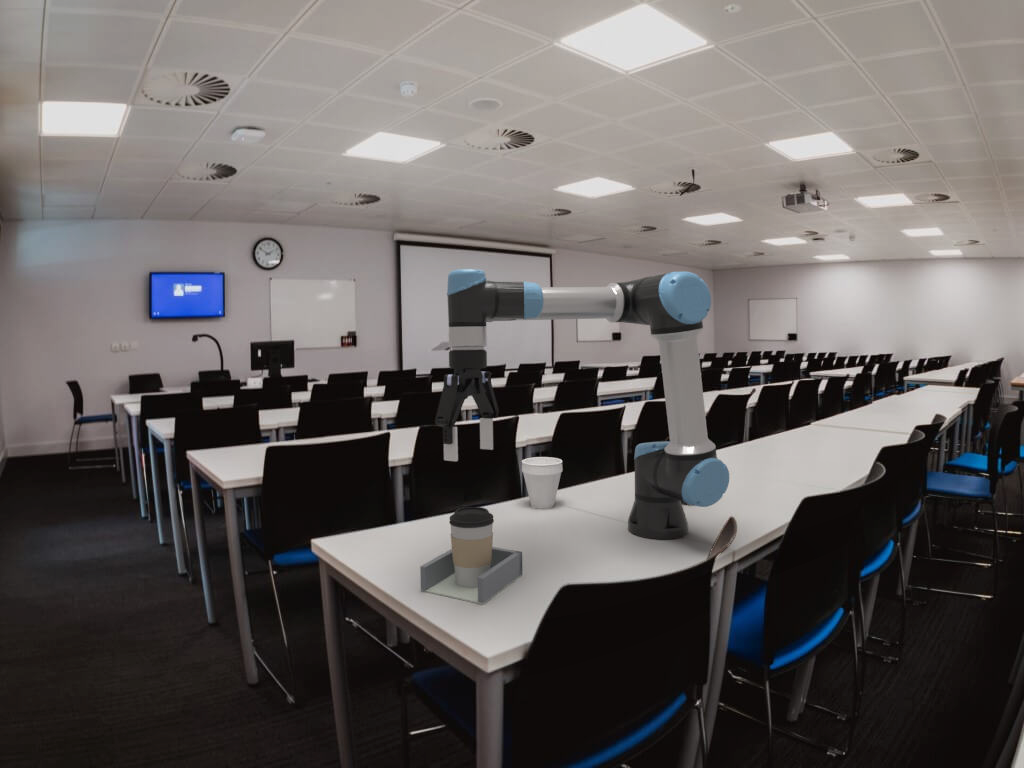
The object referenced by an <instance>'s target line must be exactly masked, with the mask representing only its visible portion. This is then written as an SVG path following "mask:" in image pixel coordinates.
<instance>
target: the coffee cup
mask: <svg viewBox="0 0 1024 768" xmlns="http://www.w3.org/2000/svg"><path fill="white" fill-rule="evenodd" d="M494 522H495V520H494V515H493V514H492V513H491V512H490V511H489V509H488V508H485V507H481V506H468V507H467V506H466V507H462V508H461V507H460V508H457V509H456V510H455V511H454V513H453V514H451V515H450V516H449V525H450V544H451V549H452V555H453V563H454V568H455V579H456V584H457V585H459V586H461V587H466V588H477V587H478V577H479V576H481V575H482V574H484V573H485V572H487V571H488V570H490V563H491V558H492V547H493V540H494V539H493V535H494V533H493V526H494V525H493V524H494Z"/></svg>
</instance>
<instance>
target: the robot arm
mask: <svg viewBox="0 0 1024 768" xmlns="http://www.w3.org/2000/svg"><path fill="white" fill-rule="evenodd" d="M446 296H447V313H448V314H447V316H448V318H447V319H448V347H449V348H451V350H449V351H448V367H449V368H450V369H453V374H444V376H443V387H442V391H441V395H440V399H439V403H438V407H437V411H436V416H435V419H434V424H435V425H437V427H440V428H442V442H443V460H444V461H448V462H458V461H459V453H458V452H459V445H458V442H459V441H458V426H455V424H456V422H457V420H458V417H459V414H460V413H461V410H462V409H463V408H462V407H463V405H464V403H465V400H467V399H468V398H469V397H472V399H473V400H474V402H475V403H474V404H475V405H476V407H477V408H478V411H479V413H480V414H481V415H480V416H482V417H481V418H479V440H480V441H479V449H480V450H491V451H493V450H494V421H493V419H497V418H498V415H499V412H500V411H499V406H498V402H497V399H496V395H495V391H494V388H493V384H492V378H491V377H492V376H491V371H482V370H483V369H486V368H487V366H488V362H487V361H488V356H487V354H488V352H487V351H488V350H487V351H486V349H485V347H487V346H488V343H487V342H488V341H487V338H488V337H487V323H491V322H506V321H507V322H508V321H545V320H546V321H547V320H589V319H590V320H593V319H597V320H598V319H599V320H600V319H602V320H603V319H606V320H607V321H608V322H610V323H625V324H627V323H628V324H635V325H642V326H649V328H650V336H651V337H652V338H653V339H654V340H656V341H657V343H658V347H659V356H660V365H661V373H662V375H661V376H662V381H663V391H664V400H665V401H664V402H665V409H666V417H667V426H668V427H667V428H668V435H669V436H668V437H670V439H669V440H668V441H665V440H664V442H661V441H651V442H650V441H649V442H642V443H639V444H637V445H636V446H635V449H634V458H633V460H634V501H633V504H632V507H631V510H630V513H629V515H628V519H627V531H628V532H629V533H631V534H633V535H635V536H638V537H642V538H646V539H647V538H648V539H655V540H671V539H680V538H683V537H685V536H687V535H688V533H689V524H688V519H687V516H686V513H685V511H684V507H683V505H682V502H684V503H685V502H686V503H687V505H690V506H696V507H701V508H706V507H707V508H708V507H710V506H712V505H715V504H716V503H718V502H719V501H720V500H721V499H722V498H723V495H724V494H725V493H726V492H727V490H728V487H729V483H730V471H729V468H728V466H727V465H726V463H724V462H723V460H721V459H719V458H717V449H716V447H717V446H716V443H714V442H713V441H712V440H711V439H709V437H708V428H707V419H706V409H705V408H706V407H705V399H704V391H703V390H704V389H703V381H702V371H701V362H700V361H701V360H700V354H699V353H700V352H699V344H698V342H699V341H698V336H699V334H700V333H702V331H703V330H704V325H703V320H705V318H707V316H708V314H709V313H708V312H709V311H710V310H711V307H712V297H711V296H712V295H711V291H710V289H709V287H708V285H707V283H706V282H705V281H704V279H703V278H701V277H700V276H699V275H698V274H696V273H693V272H691V271H672V272H667V273H663V274H657V275H652V276H646V277H642V278H638V279H633V280H630V281H628V280H627V281H623V282H610V283H608V284H607V285H606V286H548V287H547V286H546V287H545V286H540V284H538V283H537V282H530V281H525V280H524V281H491V280H487V277H486V273H485V271H484V270H482V269H476V268H475V269H474V268H464V269H463V268H461V269H455V270H452V271H450V272H449V273H448V276H447V292H446Z"/></svg>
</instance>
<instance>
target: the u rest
mask: <svg viewBox="0 0 1024 768" xmlns="http://www.w3.org/2000/svg"><path fill="white" fill-rule="evenodd" d="M419 570H420V571H419V572H420V591H421V592H424V593H429V594H433V595H439V596H441V597H442V596H443V597H448V598H452V599H455V600H456V599H457V600H461V601H465V602H470V603H475V604H479V605H485V604H487V603H488V602H489V601H490V600H492V599H493V598H494V597H496V596H497V595H498V594H499V593H501V592H502V591H503V590H505V589H506V588H507V587H508V586H510V585H511V584H512V583H514V582H515V581H516V580H518V579H519V578H522V577H521V576H523V551H518V550H513V549H508V548H501V547H495V546H492V558H491V563H490V570H488V571H487V572H485V573H484V574H482V575H481V576H479V577H478V587H477V588H466V587H461V586H459V585H457V584H456V579H455V568H454V563H453V555H452V548H451V549H449V550H447V551H445V552H444V553H442V554H439V555H438V556H436V557H435V558H433V559H431V560H430V561H429V560H428V562H426V563H424V564H422V565H420V569H419Z"/></svg>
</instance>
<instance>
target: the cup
mask: <svg viewBox="0 0 1024 768" xmlns="http://www.w3.org/2000/svg"><path fill="white" fill-rule="evenodd" d="M521 472H522V475H523V477H524V483H525V486H526V490H527V495H528V499H529V503H530V505H531V508H533V509H540V510H546V509H552V508H554V506H555V503H556V498H557V495H558V494H557V493H558V490H559V489H558V488H559V483H560V479H561V476H562V472H563V460H562V459H561V458H558V457H551V456H550V457H549V456H535V457H528V458H525V459H524V458H523V459H522V460H521Z"/></svg>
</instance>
